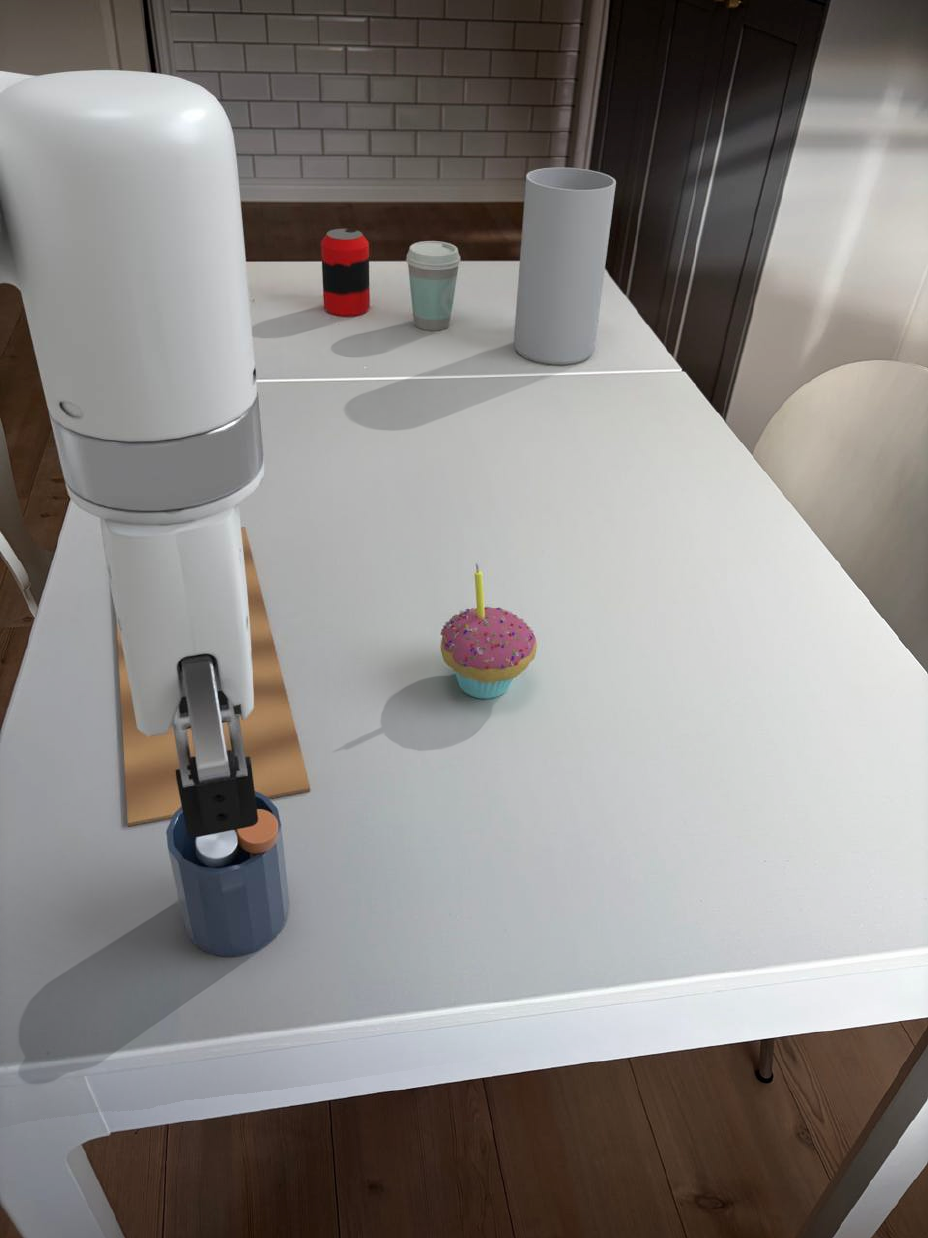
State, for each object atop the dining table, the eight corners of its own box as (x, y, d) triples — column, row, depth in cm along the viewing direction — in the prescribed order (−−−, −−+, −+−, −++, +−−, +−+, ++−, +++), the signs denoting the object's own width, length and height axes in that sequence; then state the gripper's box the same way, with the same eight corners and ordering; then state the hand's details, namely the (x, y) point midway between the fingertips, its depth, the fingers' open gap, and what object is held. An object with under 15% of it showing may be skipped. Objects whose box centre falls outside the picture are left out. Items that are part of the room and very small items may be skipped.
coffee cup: (446, 337, 155) (449, 260, 148) (396, 328, 158) (397, 251, 150) (466, 319, 162) (469, 244, 155) (417, 310, 164) (419, 236, 157)
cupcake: (419, 677, 91) (421, 569, 83) (486, 640, 95) (494, 535, 88) (484, 727, 86) (492, 617, 78) (551, 685, 91) (565, 578, 83)
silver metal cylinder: (237, 925, 69) (240, 855, 62) (198, 932, 68) (197, 861, 61) (232, 891, 70) (235, 818, 63) (194, 897, 69) (193, 825, 62)
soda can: (377, 305, 165) (376, 231, 158) (357, 320, 160) (355, 243, 152) (336, 297, 167) (334, 224, 160) (315, 312, 162) (312, 236, 154)
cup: (246, 974, 66) (233, 890, 61) (162, 929, 69) (142, 843, 63) (309, 896, 71) (301, 812, 66) (228, 856, 74) (215, 772, 68)
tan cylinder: (278, 916, 69) (281, 840, 62) (241, 923, 69) (239, 847, 62) (272, 883, 71) (274, 805, 64) (236, 890, 70) (233, 812, 63)
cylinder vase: (545, 372, 146) (563, 194, 131) (497, 343, 154) (508, 172, 139) (610, 357, 152) (634, 184, 137) (560, 329, 160) (578, 164, 145)
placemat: (310, 791, 79) (310, 787, 79) (128, 826, 76) (127, 823, 75) (245, 529, 109) (245, 526, 109) (112, 546, 106) (111, 542, 105)
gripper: (60, 360, 43) (126, 667, 54) (55, 583, 30) (144, 930, 41) (233, 346, 45) (264, 646, 56) (299, 551, 32) (323, 890, 43)
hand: (213, 764), depth 49 cm, fingers open, 7 cm apart
